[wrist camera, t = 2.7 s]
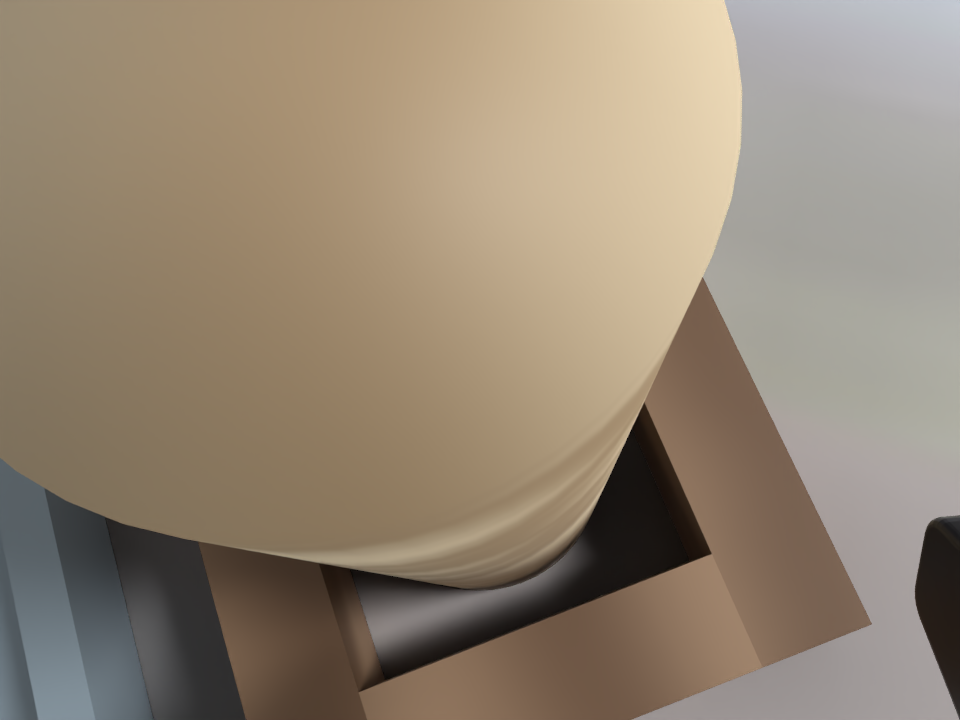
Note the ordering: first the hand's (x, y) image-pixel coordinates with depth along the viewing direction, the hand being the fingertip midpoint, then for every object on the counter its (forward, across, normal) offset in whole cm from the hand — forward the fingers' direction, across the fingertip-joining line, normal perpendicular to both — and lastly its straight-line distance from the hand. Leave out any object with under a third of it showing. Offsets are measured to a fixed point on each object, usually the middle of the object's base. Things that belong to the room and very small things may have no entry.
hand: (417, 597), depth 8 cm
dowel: (+9, 0, +5) cm, 11 cm away
